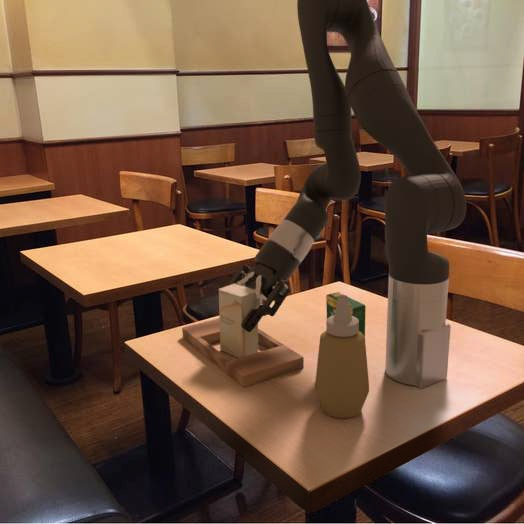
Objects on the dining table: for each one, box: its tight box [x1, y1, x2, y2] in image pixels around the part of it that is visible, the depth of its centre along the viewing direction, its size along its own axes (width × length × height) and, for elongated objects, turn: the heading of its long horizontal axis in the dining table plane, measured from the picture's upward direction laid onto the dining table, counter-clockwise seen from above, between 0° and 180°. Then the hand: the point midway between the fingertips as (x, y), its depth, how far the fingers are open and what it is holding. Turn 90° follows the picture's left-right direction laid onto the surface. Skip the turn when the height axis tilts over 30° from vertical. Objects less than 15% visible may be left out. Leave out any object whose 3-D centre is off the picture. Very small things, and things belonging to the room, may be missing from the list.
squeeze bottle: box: [314, 294, 370, 419], centre depth 83 cm, size 8×8×18 cm
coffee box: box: [325, 291, 367, 337], centre depth 95 cm, size 8×3×13 cm, turn 25°
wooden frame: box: [181, 318, 305, 388], centre depth 106 cm, size 24×12×2 cm, turn 32°
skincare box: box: [218, 283, 259, 359], centre depth 104 cm, size 6×4×12 cm
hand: (233, 321), depth 103 cm, fingers open, 8 cm apart
